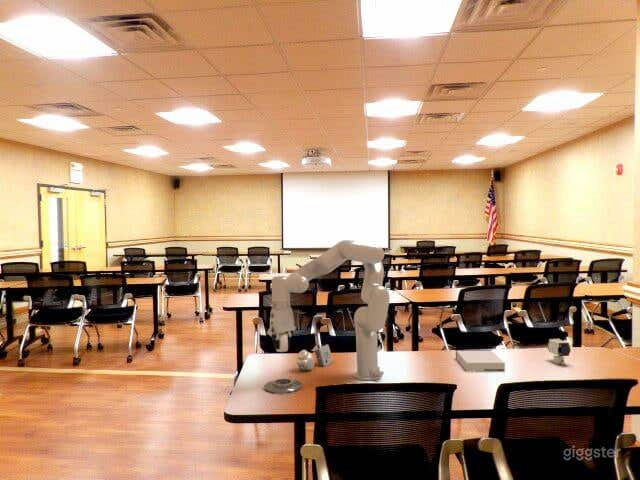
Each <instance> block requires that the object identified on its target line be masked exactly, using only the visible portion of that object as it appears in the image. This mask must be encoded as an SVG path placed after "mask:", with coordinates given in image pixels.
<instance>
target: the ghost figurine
mask: <svg viewBox="0 0 640 480" xmlns="http://www.w3.org/2000/svg"><path fill="white" fill-rule="evenodd" d="M315 364H316V356H314V354H313V353H311V352H309V351H307V350H306V349H302V350H301V351H299V352H298V354H297V358H296V365H297V367H298V368H299V369H300V370H302V371H304V370H308V371H310V370H312V369H313V368H314V367H315Z"/></svg>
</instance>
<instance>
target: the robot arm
mask: <svg viewBox="0 0 640 480" xmlns="http://www.w3.org/2000/svg"><path fill="white" fill-rule="evenodd" d="M384 257H385V251H384V249H383V248H382V247H381V246H380V245H378V244H373V243H369V242H368V243H366V242H361V241H355V240H347V239H346V240H341V241H339V242H337V243H336V244H334V245H333V246H332V247H329V248H328V249H327V250H326V251H325V252H323V253H322V254H321V255H319V256H317V257H316V258H314V259H312V260H310V261H309V262H307V263H305V264H303V265H302V266H299V268H297V269H296V270H295V271H293V272H291V274H288V275H289V276H286V275H278V276H273V277H272V278H271V298H272V299H271V300H272V301H271V302H272V303H270V307H271V310H270V317H269V328H268V330H267V331H266V333H267V335H269V336H270V337H271V338H272V339H271V340H273V348H274V349H275V350H276V349H280V341H279V340H278V338H279V333H284V332H286V333H287V334H288V348H291V337H292V335H293V333H294V331H295V330H297V327H296V326H295V321H294V320H295V319H294V312H293V308H292V307H291V296H290V295H291V293H295V294H302V293H305V292H306V291H307V290H308V289H309V287H310V286H309V285H310V284H309V282H310V281H312V280H313V279H314V278H317V277H321V276H324V275H328V274H329V273H331V272H333V271H334V270H335V269H337V268H338V267H339V266H341V265H342V264H343V263H345V262H346V261H348V260H349V261H353V262H359V263H362V265H363V266H364V278H363V284H362V289H361V293H360V297H361V300H362V301H363V302H364V303H365V304H367V306H361V307H358V308H357V309H356V311H355V313H354V314H353V315H354V317H353V321H354V327H355V338H356V339H355V342H356V343H355V344H356V345H355V347H356V348H355V349H356V371H355V372H354V373H353V378H354V379H356V380H360V381H377V380H379V379H380V378H382V377H383V375H384V374H385V373H384V371H382V370H381V368H380V366H379V362H378V360H379V359H378V358H379V357H378V334H377V332H380V331H381V330H382V329H383V328H384V326H385V324H386V319H387V317H388V316H387V315H388V312H389V306H390V293H389V290H388V288H387V287H385V286H384V285H383V281H384V276H385V275H384V273H385V272H384V270H385V269H384V265H383V262H382V261H383V260H384Z"/></svg>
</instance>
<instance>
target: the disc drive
mask: <svg viewBox="0 0 640 480" xmlns="http://www.w3.org/2000/svg"><path fill="white" fill-rule="evenodd" d="M455 360H457V361H459V362H460V363H459V362H458V363H459V364H460V365H461V367H462V366H463V367H464V368H463V367H462V368H463V370H464V371H465V372H466V371H472V372H471V373H495V372H496V373H506V372H505V371H506V369H505V368H506V367H505V365H506V363H505V362H504V361H503V360H502V359H501V358H500V357H499V356H498V355H497V354H496V353H494V352H493V351H492V350H491V349H455ZM473 371H475V372H473Z"/></svg>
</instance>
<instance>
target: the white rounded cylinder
mask: <svg viewBox="0 0 640 480" xmlns="http://www.w3.org/2000/svg"><path fill="white" fill-rule="evenodd" d="M278 340H279V341H280V349H275V350H276V352H277V353H279V352H280V353H284V352H288V351H289V347H288V334H287V333H286V332H284V333H279V338H278Z"/></svg>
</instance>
